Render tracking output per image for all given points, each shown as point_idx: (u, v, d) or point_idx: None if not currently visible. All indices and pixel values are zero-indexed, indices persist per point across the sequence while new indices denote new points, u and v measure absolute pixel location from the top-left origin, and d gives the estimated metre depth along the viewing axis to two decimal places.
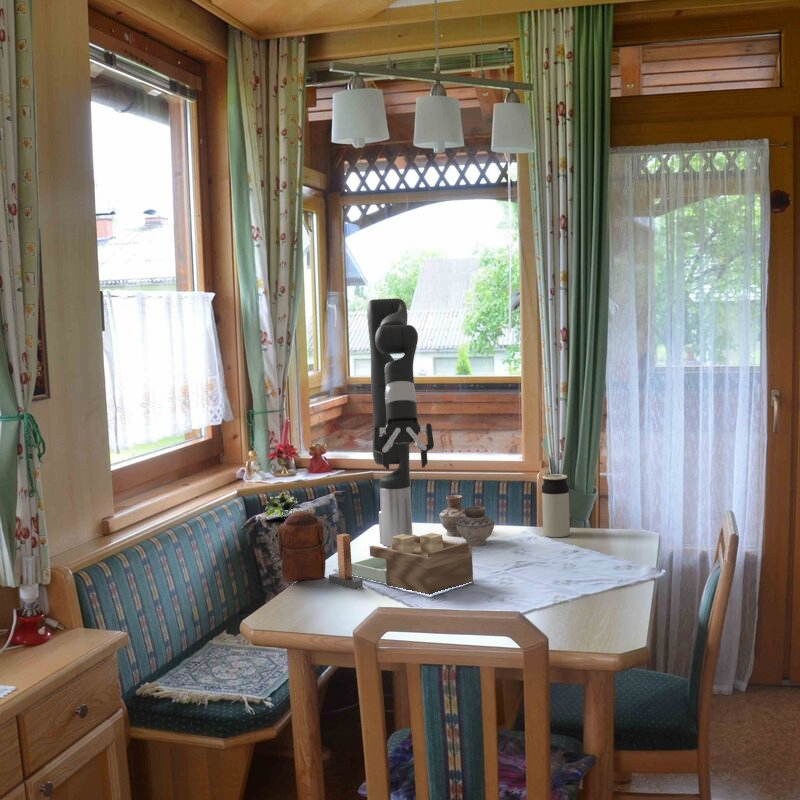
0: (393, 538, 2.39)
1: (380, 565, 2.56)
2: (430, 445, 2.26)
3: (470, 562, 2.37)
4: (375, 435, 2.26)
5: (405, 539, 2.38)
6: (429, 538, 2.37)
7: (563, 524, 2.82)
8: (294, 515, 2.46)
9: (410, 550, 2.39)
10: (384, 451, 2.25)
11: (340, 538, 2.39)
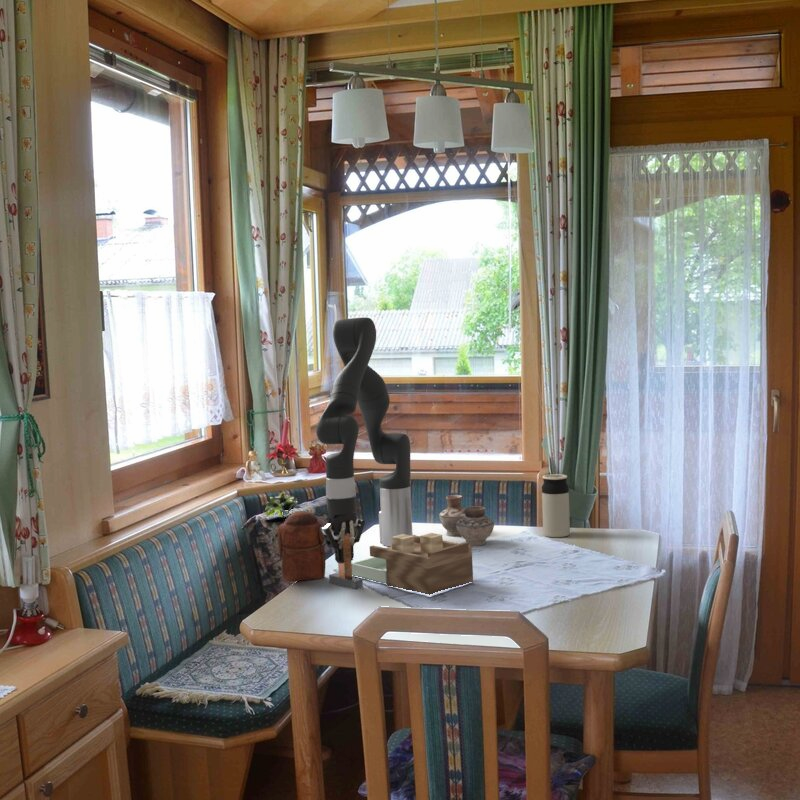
0: (393, 538, 2.39)
1: (380, 565, 2.56)
2: (357, 540, 2.42)
3: (470, 562, 2.37)
4: (329, 536, 2.36)
5: (405, 539, 2.38)
6: (429, 538, 2.37)
7: (563, 524, 2.82)
8: (294, 515, 2.46)
9: (410, 550, 2.39)
10: (341, 548, 2.39)
11: None
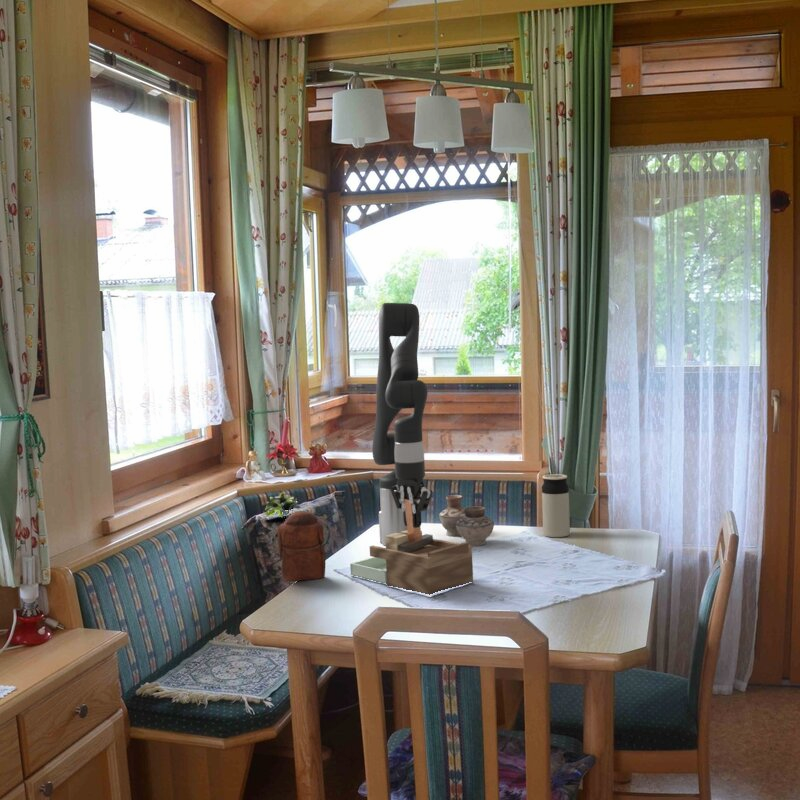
0: (387, 537, 2.41)
1: (380, 565, 2.56)
2: (418, 509, 2.37)
3: (470, 562, 2.37)
4: (393, 495, 2.43)
5: (399, 538, 2.39)
6: None
7: (563, 524, 2.82)
8: (294, 515, 2.46)
9: None
10: (403, 510, 2.41)
11: None
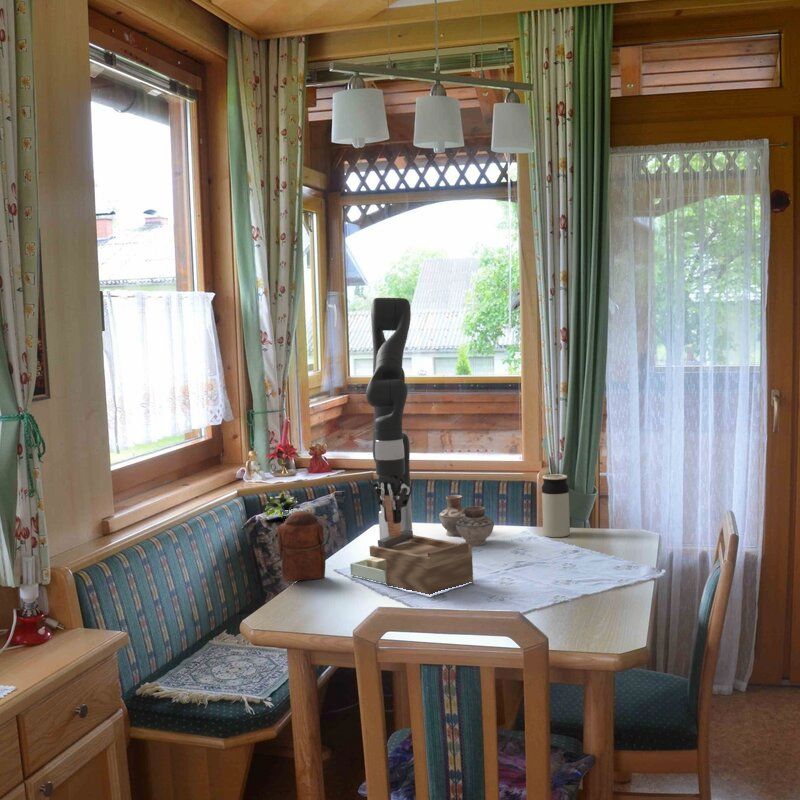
0: None
1: None
2: (397, 506, 2.42)
3: (470, 562, 2.37)
4: (374, 492, 2.48)
5: (370, 559, 2.48)
6: None
7: (563, 524, 2.81)
8: (294, 515, 2.46)
9: (382, 559, 2.47)
10: (384, 507, 2.46)
11: None
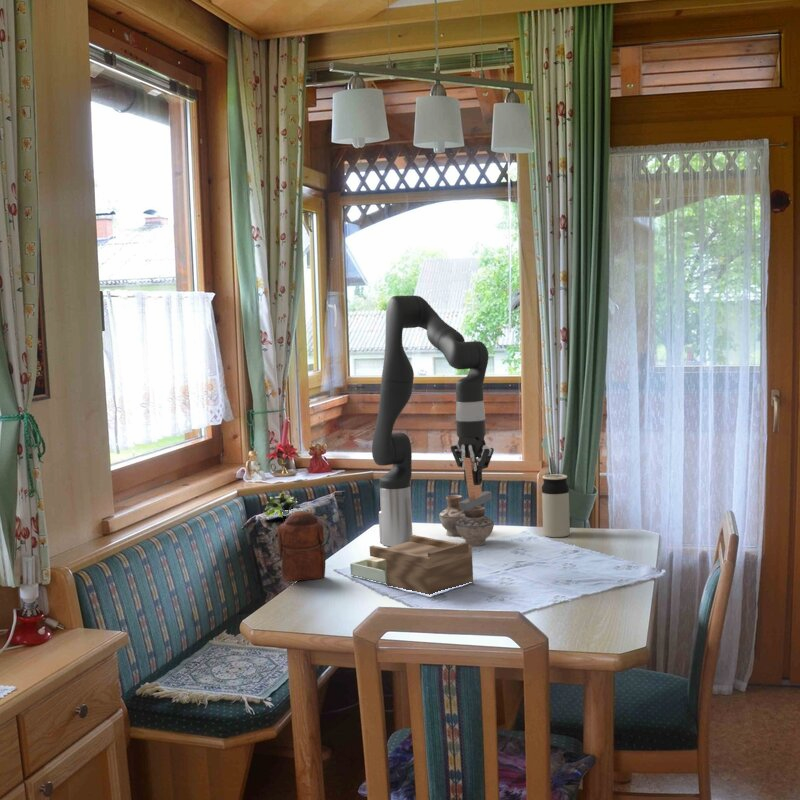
0: None
1: None
2: (479, 467, 2.43)
3: (470, 562, 2.37)
4: (453, 454, 2.50)
5: (370, 559, 2.48)
6: None
7: (563, 524, 2.81)
8: (294, 515, 2.46)
9: (382, 559, 2.47)
10: (464, 468, 2.47)
11: None
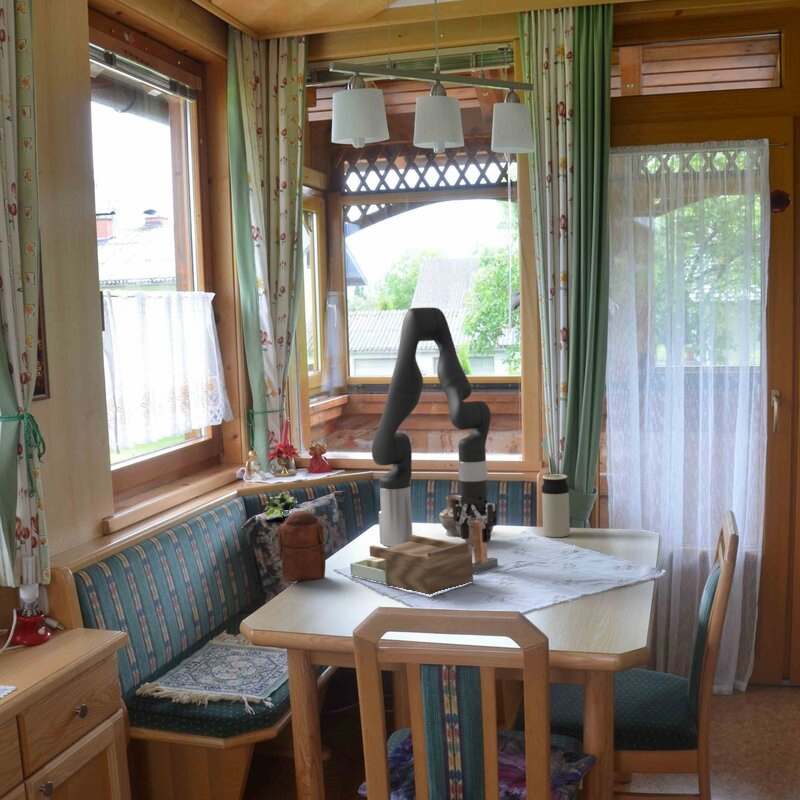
0: None
1: None
2: (488, 525, 2.43)
3: (470, 562, 2.37)
4: (453, 507, 2.52)
5: (370, 559, 2.48)
6: None
7: (563, 524, 2.81)
8: (294, 515, 2.46)
9: (382, 559, 2.47)
10: (460, 523, 2.50)
11: None
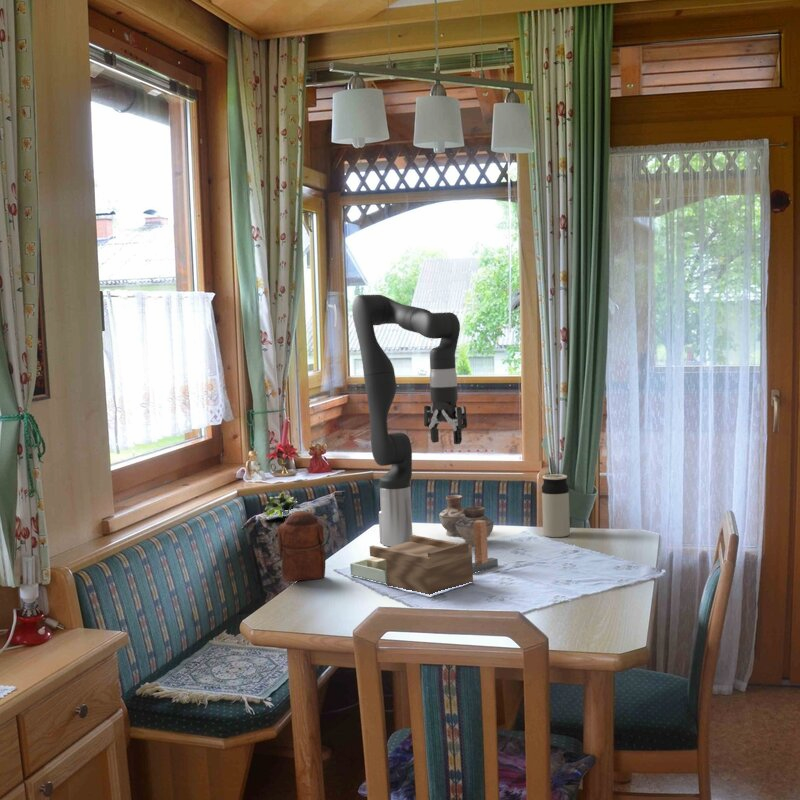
0: None
1: None
2: (458, 427, 2.57)
3: (470, 562, 2.37)
4: (424, 413, 2.66)
5: (370, 559, 2.48)
6: None
7: (563, 524, 2.81)
8: (294, 515, 2.46)
9: (382, 559, 2.47)
10: (430, 428, 2.65)
11: None
